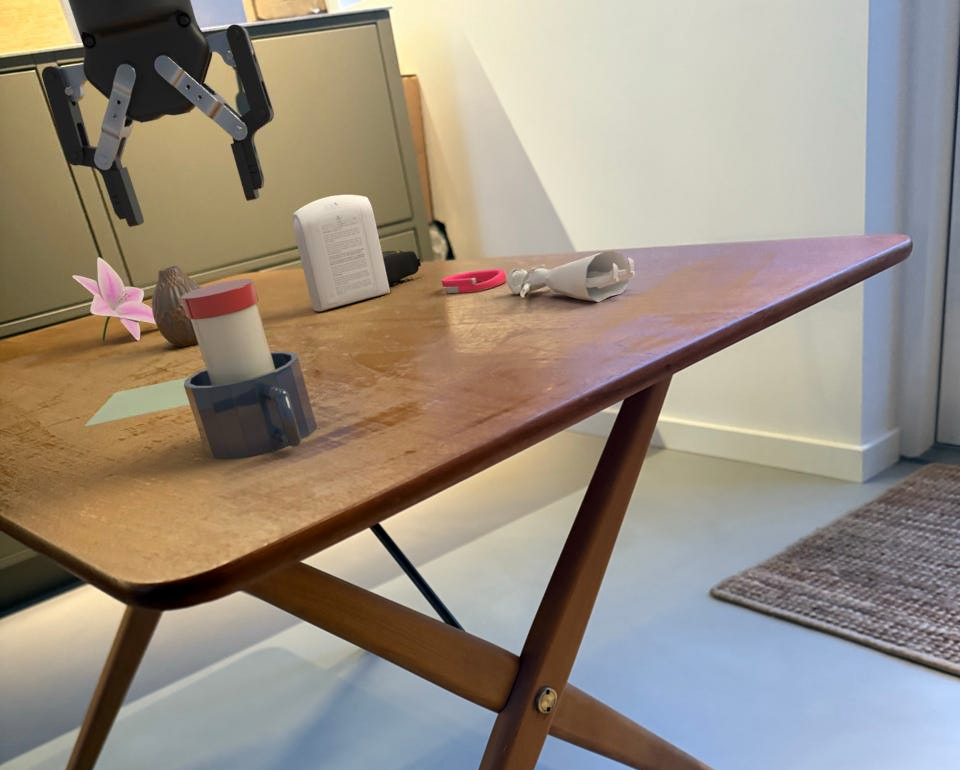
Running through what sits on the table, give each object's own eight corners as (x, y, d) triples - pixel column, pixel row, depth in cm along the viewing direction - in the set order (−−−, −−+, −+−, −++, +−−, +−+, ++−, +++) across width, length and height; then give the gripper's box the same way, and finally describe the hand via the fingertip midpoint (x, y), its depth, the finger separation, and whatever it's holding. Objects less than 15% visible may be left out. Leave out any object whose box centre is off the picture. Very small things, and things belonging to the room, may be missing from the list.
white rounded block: (383, 290, 133) (360, 187, 127) (396, 292, 129) (372, 187, 123) (309, 310, 129) (282, 206, 124) (319, 314, 126) (292, 207, 120)
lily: (93, 363, 131) (104, 290, 126) (46, 325, 136) (55, 253, 132) (174, 364, 140) (187, 296, 135) (127, 328, 145) (138, 261, 141)
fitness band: (433, 294, 123) (430, 281, 123) (462, 281, 127) (460, 269, 126) (486, 291, 118) (484, 278, 118) (515, 278, 122) (513, 265, 122)
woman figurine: (577, 265, 97) (466, 275, 111) (586, 313, 99) (475, 316, 113) (662, 235, 102) (546, 248, 116) (669, 281, 104) (554, 288, 118)
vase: (153, 353, 124) (128, 278, 120) (181, 338, 129) (157, 266, 125) (204, 346, 122) (180, 270, 118) (229, 331, 127) (207, 257, 123)
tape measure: (385, 291, 131) (379, 261, 130) (352, 291, 136) (345, 262, 134) (424, 277, 135) (418, 247, 134) (390, 277, 140) (384, 249, 138)
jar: (223, 455, 79) (174, 302, 73) (233, 434, 83) (187, 289, 78) (292, 441, 79) (247, 287, 73) (298, 420, 83) (257, 274, 78)
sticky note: (85, 431, 96) (83, 426, 96) (116, 397, 106) (114, 392, 106) (231, 401, 95) (229, 396, 95) (248, 369, 106) (246, 365, 106)
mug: (193, 452, 83) (168, 379, 80) (290, 417, 86) (270, 346, 84) (247, 480, 74) (222, 399, 71) (354, 440, 77) (334, 362, 74)
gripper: (230, -75, 68) (297, 186, 76) (23, -28, 69) (110, 227, 77) (212, -92, 62) (287, 196, 70) (-17, -40, 62) (83, 240, 70)
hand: (194, 212), depth 73 cm, fingers open, 8 cm apart
